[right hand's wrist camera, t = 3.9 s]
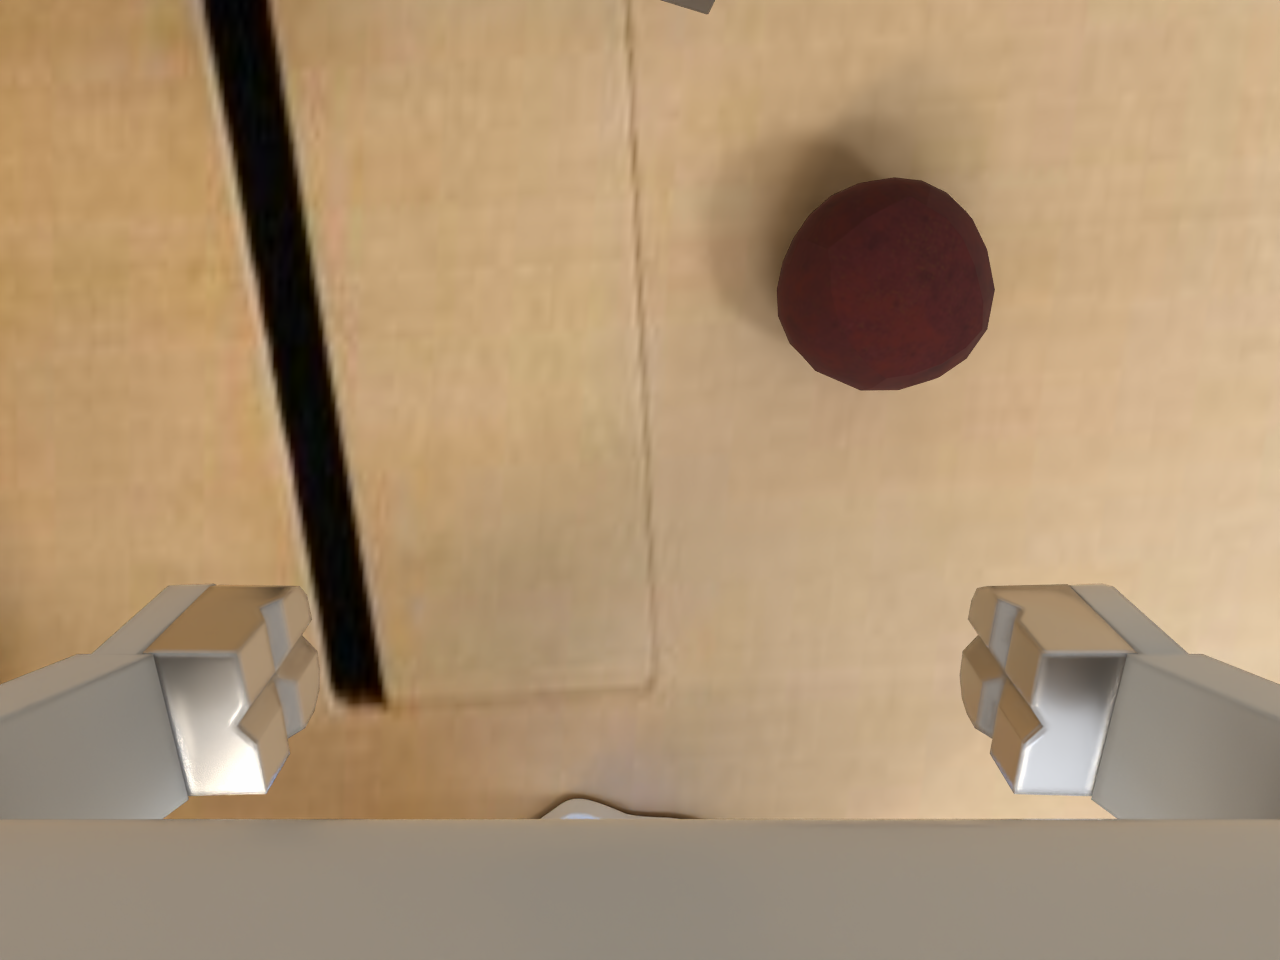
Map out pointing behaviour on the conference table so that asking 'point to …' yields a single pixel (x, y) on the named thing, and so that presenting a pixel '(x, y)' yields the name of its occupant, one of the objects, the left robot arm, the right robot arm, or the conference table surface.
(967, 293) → the potato
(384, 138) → the conference table surface
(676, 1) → the box
